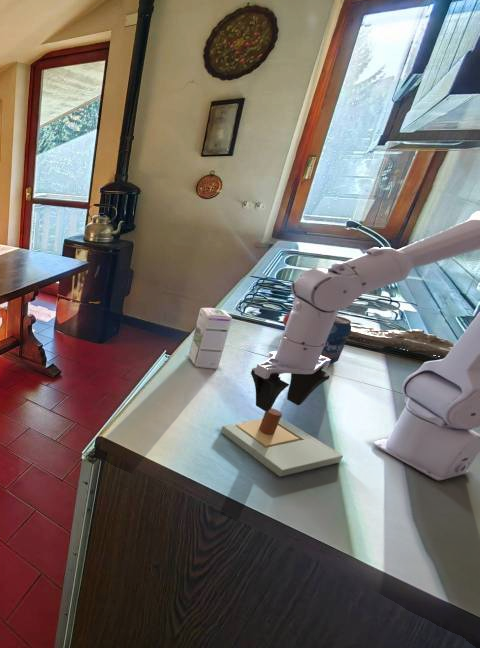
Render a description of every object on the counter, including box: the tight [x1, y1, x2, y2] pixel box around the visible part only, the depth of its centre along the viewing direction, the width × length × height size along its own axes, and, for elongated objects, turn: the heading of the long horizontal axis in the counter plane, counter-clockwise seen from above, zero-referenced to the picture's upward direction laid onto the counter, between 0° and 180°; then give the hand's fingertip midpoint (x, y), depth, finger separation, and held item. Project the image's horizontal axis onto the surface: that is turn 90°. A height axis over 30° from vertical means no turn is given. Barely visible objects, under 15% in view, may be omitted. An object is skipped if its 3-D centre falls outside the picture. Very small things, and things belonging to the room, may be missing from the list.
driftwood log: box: [347, 323, 455, 360], centre depth 115 cm, size 35×5×10 cm
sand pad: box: [234, 407, 299, 448], centre depth 74 cm, size 6×8×6 cm
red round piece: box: [282, 311, 291, 328], centre depth 120 cm, size 6×6×8 cm
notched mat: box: [220, 417, 344, 478], centre depth 72 cm, size 12×14×2 cm
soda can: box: [321, 315, 352, 366], centre depth 103 cm, size 7×7×12 cm
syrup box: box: [187, 307, 233, 370], centre depth 100 cm, size 6×6×14 cm
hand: (277, 405), depth 72 cm, fingers open, 7 cm apart
